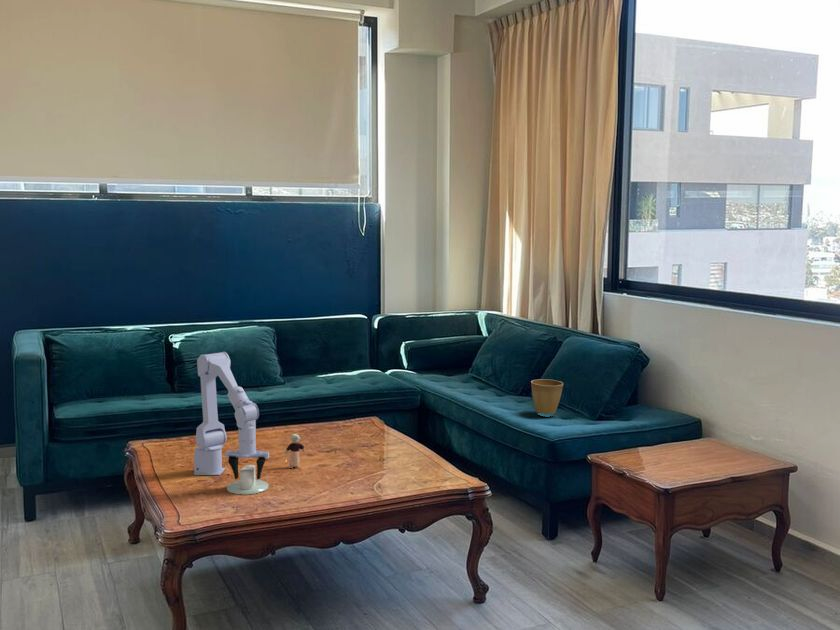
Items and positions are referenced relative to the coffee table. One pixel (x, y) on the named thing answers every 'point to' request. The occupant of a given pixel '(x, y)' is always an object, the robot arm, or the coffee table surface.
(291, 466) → the grandmother figurine
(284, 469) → the coffee table surface
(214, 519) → the coffee table surface
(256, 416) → the robot arm
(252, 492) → the sage plate
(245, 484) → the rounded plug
